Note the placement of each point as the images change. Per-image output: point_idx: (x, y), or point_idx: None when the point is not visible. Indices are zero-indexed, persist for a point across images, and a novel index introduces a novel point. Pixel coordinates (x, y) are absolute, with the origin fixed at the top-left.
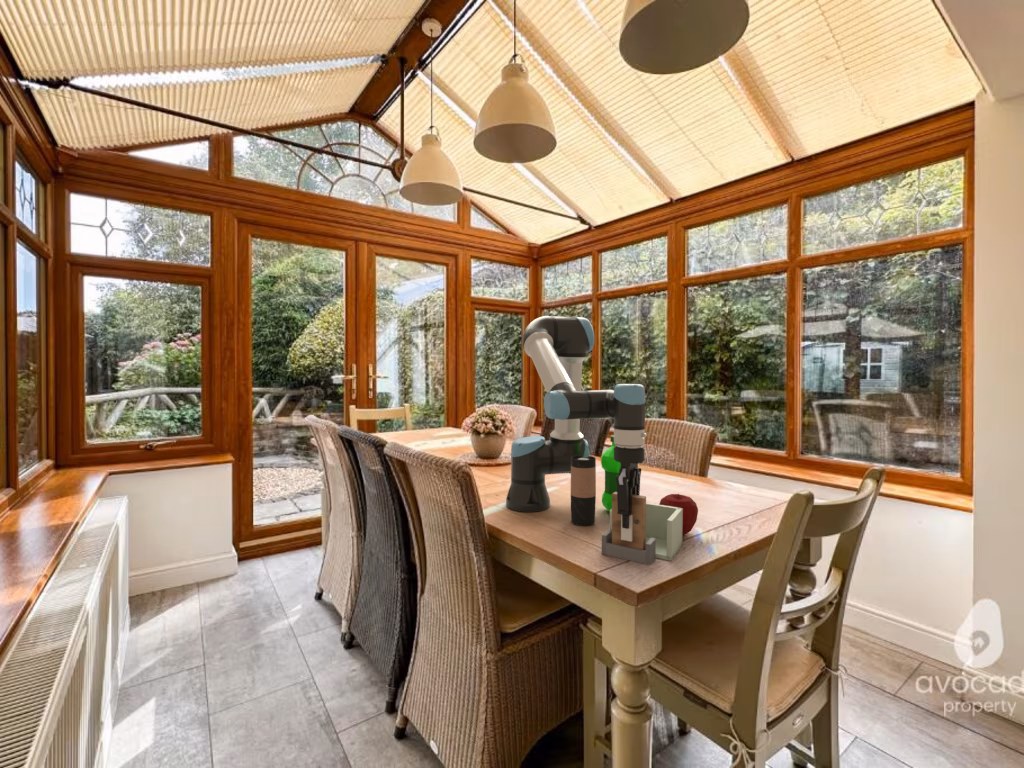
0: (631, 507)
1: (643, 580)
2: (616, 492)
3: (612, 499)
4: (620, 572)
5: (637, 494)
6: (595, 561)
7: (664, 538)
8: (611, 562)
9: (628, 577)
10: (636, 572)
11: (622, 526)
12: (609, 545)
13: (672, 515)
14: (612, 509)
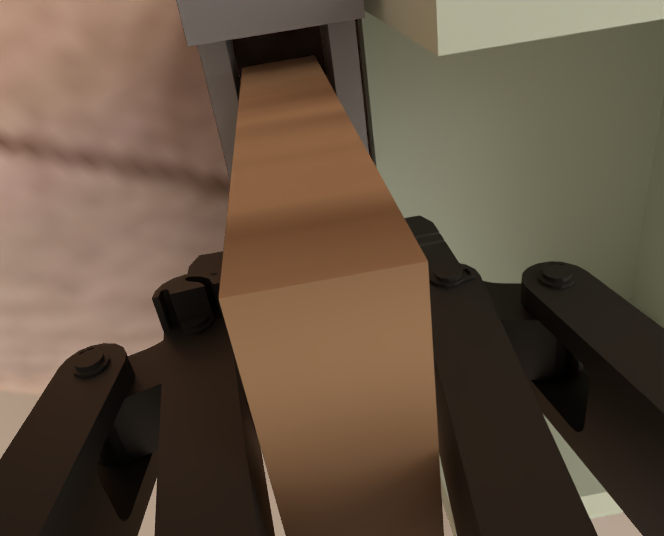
0: (262, 459)
1: (70, 354)
2: (388, 312)
3: (225, 244)
4: (47, 232)
5: (601, 481)
6: (44, 18)
7: (645, 238)
8: (126, 119)
9: (32, 291)
10: (124, 292)
11: (191, 267)
12: (204, 64)
13: (593, 500)
14: (233, 174)
